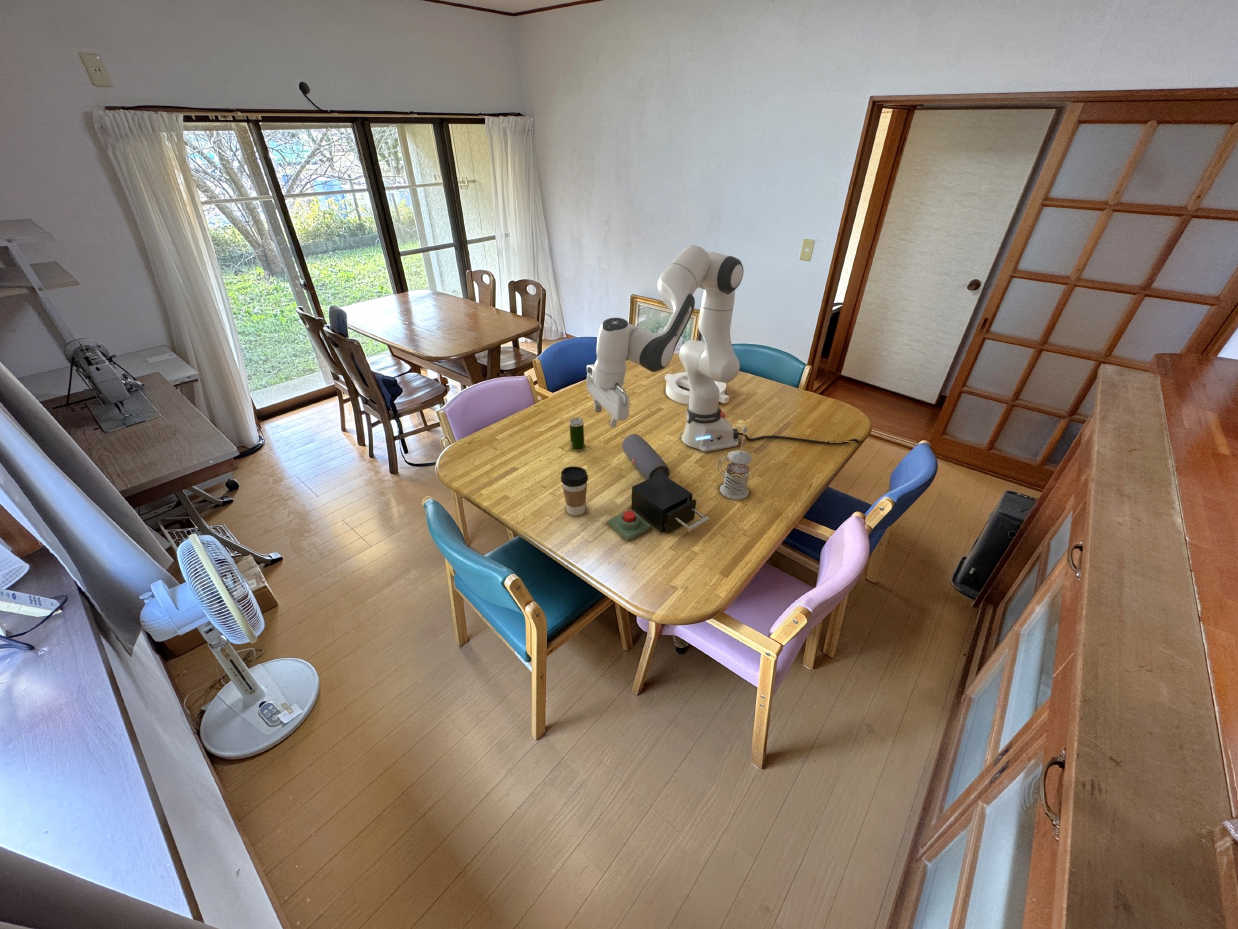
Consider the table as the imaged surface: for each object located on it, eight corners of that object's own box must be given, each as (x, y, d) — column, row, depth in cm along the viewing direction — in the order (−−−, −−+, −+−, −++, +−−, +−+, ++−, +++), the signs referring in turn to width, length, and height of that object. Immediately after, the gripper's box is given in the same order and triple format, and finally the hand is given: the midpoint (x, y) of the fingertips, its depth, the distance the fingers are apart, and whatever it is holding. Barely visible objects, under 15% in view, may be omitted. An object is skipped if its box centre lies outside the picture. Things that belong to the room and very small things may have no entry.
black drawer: (711, 531, 147) (714, 512, 143) (684, 547, 142) (686, 528, 138) (665, 497, 161) (666, 480, 157) (639, 511, 155) (639, 493, 151)
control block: (650, 529, 149) (650, 520, 147) (627, 541, 145) (628, 532, 143) (630, 512, 156) (630, 504, 154) (607, 523, 151) (607, 515, 149)
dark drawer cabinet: (690, 516, 154) (693, 494, 149) (661, 532, 148) (662, 509, 143) (660, 494, 164) (661, 472, 159) (631, 508, 158) (631, 486, 152)
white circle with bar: (729, 406, 219) (730, 396, 216) (667, 405, 219) (668, 395, 217) (719, 380, 242) (720, 371, 240) (663, 379, 242) (664, 371, 240)
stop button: (637, 519, 148) (637, 515, 147) (628, 524, 147) (628, 519, 146) (630, 513, 151) (630, 509, 150) (621, 518, 149) (621, 513, 148)
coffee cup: (563, 502, 160) (560, 464, 152) (588, 501, 161) (587, 463, 152) (562, 518, 153) (560, 480, 145) (589, 517, 154) (588, 479, 145)
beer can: (575, 452, 185) (573, 425, 179) (568, 446, 189) (566, 419, 182) (587, 448, 188) (586, 421, 181) (580, 442, 192) (579, 416, 185)
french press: (742, 502, 161) (755, 438, 147) (710, 491, 166) (719, 428, 152) (752, 487, 167) (765, 425, 153) (721, 477, 173) (730, 415, 159)
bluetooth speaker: (620, 458, 183) (620, 435, 177) (642, 452, 186) (643, 430, 180) (646, 491, 165) (647, 467, 160) (670, 485, 168) (672, 461, 163)
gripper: (637, 391, 132) (631, 434, 140) (602, 361, 146) (598, 401, 154) (617, 394, 129) (612, 438, 137) (584, 363, 143) (581, 404, 151)
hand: (604, 418), depth 145 cm, fingers open, 8 cm apart
